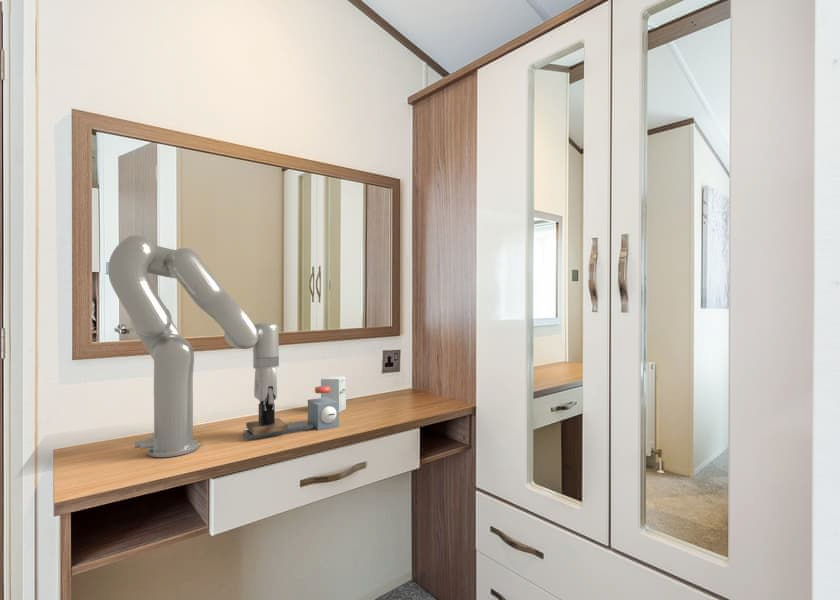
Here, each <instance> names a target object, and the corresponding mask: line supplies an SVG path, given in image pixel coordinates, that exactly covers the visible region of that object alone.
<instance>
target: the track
mask: <svg viewBox="0 0 840 600" xmlns="http://www.w3.org/2000/svg"><path fill="white" fill-rule="evenodd" d="M286 424H287V425H288V430H282V431H276V432H270V433H263V434H257V435H253V434H252V433H251V432H250V431H249V430H248V429H245V430H243V433H242V434H243V437H245V440H247V441H251V440H257V439H258V440H259V439H264V438H269V437H275V436H282V435H288V434H293V433H294V434H295V433H298V432H299V433H300V432H305V431H312V430H314V427H313V424H311V423H310V422H308V420H304V421H303V420H302V421H297V422H291V423H286Z"/></svg>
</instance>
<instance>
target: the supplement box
mask: <svg viewBox="0 0 840 600" xmlns="http://www.w3.org/2000/svg"><path fill="white" fill-rule="evenodd" d="M346 381H347V377H346V376H343V375H340V376H339V375H338V376H337V375H331V376H330V375H328V376H325V377H323V378H321V379H320V386H330V392H329V393H320V398H325V397H328V398H330V399H333V400H335V401H337V402H339V414H340V413H341V412H342V411H344V410H346V408H347V386H346V385H347V382H346Z"/></svg>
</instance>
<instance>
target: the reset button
mask: <svg viewBox="0 0 840 600" xmlns="http://www.w3.org/2000/svg"><path fill="white" fill-rule="evenodd" d="M329 392H330V386H321V385H319V386H315V387H314V393H315V394H321V393H329Z"/></svg>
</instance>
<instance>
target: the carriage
mask: <svg viewBox="0 0 840 600" xmlns="http://www.w3.org/2000/svg"><path fill="white" fill-rule="evenodd" d="M266 404H267V403H266ZM275 407H276V406H275V403H274V423H269V424H263V411H264V403H263V404H260V403H258V420H254V421H249V422H245V424H246V425H245V426H246V427H245V428H246V430H249V431H250V432H251V433H252V434H253V435H257V434H263V433H270V432H276V431H282V430H288V425H287V424H288V423H286V422H285V421H284V420H282V419H281V418H279V417H276V416H275V415H276V414H275V413H276V411H275V410H276V409H275Z"/></svg>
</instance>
